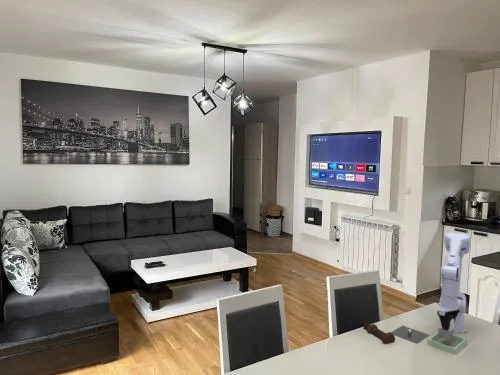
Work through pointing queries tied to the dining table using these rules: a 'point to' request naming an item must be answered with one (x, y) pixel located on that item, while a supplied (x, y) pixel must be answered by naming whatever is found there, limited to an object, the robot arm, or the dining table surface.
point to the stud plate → (410, 334)
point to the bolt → (380, 333)
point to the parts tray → (446, 348)
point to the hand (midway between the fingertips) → (447, 327)
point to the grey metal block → (445, 332)
